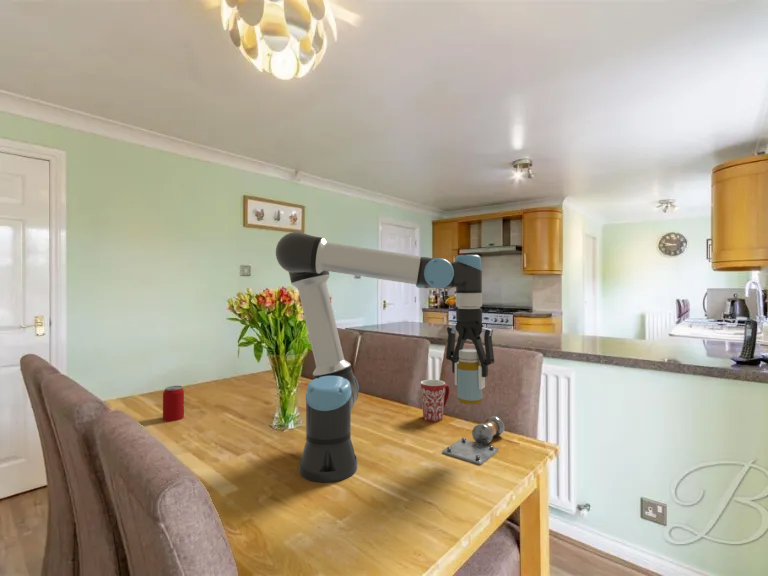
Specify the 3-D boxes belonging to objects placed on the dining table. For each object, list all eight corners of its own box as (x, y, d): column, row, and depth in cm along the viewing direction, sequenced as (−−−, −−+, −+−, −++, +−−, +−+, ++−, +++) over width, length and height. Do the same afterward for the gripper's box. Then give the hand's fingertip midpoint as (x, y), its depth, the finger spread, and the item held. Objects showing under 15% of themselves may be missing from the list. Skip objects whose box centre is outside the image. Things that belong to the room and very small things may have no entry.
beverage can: (187, 417, 146) (187, 385, 146) (176, 424, 140) (176, 390, 140) (170, 417, 147) (170, 385, 147) (158, 423, 140) (158, 389, 140)
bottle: (484, 404, 112) (484, 352, 112) (459, 404, 113) (459, 352, 113) (479, 398, 119) (478, 348, 119) (455, 398, 120) (455, 348, 120)
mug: (432, 424, 139) (432, 386, 139) (415, 417, 147) (415, 381, 147) (457, 418, 147) (457, 381, 147) (440, 411, 154) (440, 377, 154)
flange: (480, 465, 108) (480, 443, 108) (442, 453, 115) (442, 432, 115) (513, 439, 126) (513, 420, 126) (478, 430, 134) (478, 412, 134)
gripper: (506, 308, 113) (507, 388, 113) (445, 306, 125) (446, 379, 125) (496, 309, 107) (496, 394, 107) (433, 307, 119) (433, 383, 119)
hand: (469, 386), depth 116 cm, fingers closed on bottle, 7 cm apart
